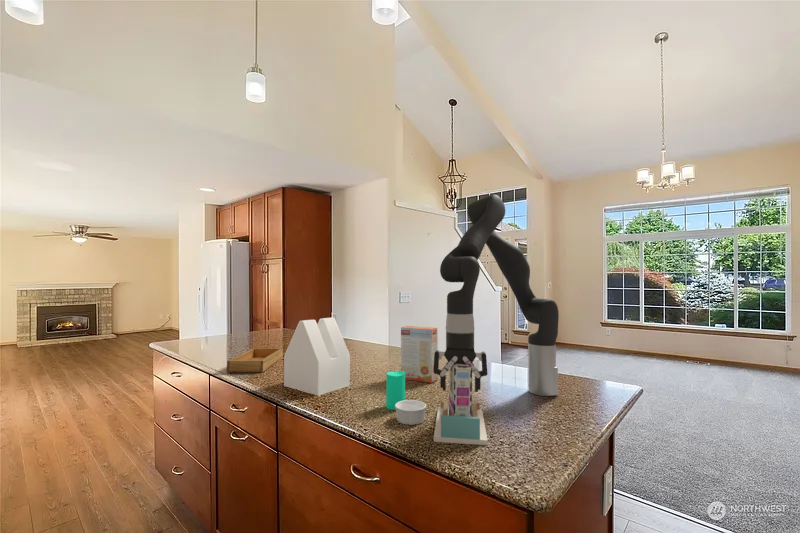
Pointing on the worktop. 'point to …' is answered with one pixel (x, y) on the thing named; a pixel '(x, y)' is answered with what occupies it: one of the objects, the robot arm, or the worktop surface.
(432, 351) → the cracker box
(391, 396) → the candle
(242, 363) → the tray
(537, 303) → the robot arm
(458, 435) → the slot board
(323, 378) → the slotted house block
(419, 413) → the ramekin
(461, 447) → the worktop surface
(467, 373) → the candy bar box
